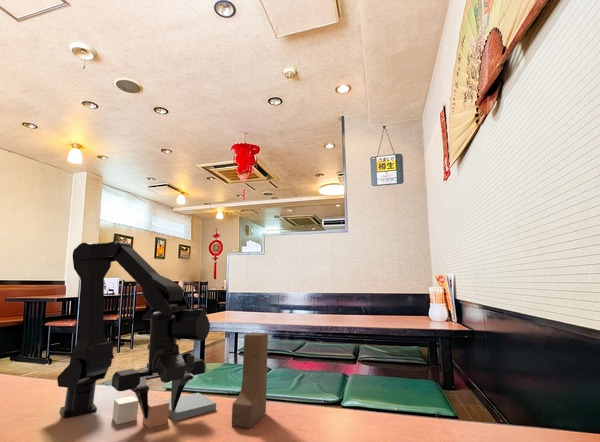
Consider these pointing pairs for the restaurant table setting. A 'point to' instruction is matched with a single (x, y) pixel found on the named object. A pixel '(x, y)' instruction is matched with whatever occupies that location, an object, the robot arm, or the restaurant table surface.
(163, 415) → the terracotta brick
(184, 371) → the robot arm
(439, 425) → the restaurant table surface
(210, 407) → the build plate
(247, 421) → the wooden block
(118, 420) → the cream brick
